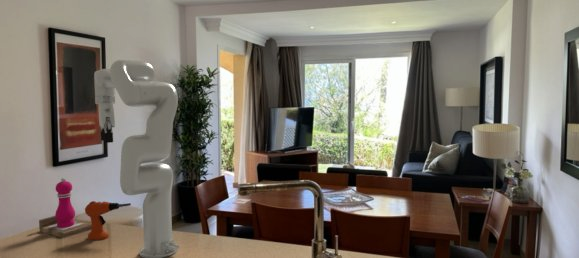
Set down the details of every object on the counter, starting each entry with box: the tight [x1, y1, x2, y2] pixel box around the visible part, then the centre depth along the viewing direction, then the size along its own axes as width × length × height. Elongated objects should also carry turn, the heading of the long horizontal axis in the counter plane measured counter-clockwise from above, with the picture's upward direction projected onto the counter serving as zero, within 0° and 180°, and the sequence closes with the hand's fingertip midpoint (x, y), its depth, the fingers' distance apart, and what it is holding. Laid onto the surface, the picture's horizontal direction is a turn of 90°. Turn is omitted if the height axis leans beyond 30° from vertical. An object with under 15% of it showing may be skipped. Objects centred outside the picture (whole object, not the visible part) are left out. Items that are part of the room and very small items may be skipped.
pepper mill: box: [54, 177, 76, 228], centre depth 165 cm, size 7×7×20 cm
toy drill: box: [84, 200, 132, 241], centre depth 156 cm, size 5×19×15 cm, turn 87°
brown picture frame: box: [38, 215, 92, 239], centre depth 166 cm, size 16×12×5 cm
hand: (107, 141), depth 168 cm, fingers open, 9 cm apart
